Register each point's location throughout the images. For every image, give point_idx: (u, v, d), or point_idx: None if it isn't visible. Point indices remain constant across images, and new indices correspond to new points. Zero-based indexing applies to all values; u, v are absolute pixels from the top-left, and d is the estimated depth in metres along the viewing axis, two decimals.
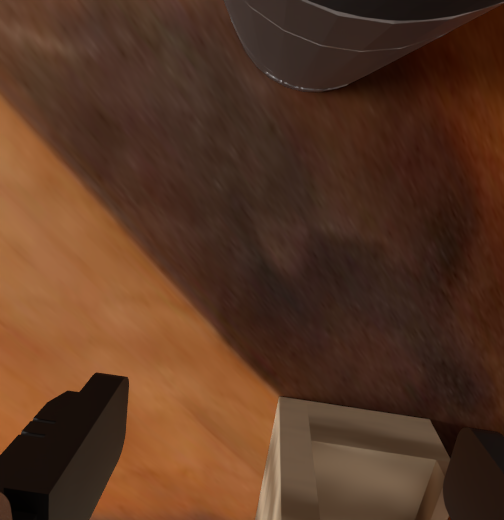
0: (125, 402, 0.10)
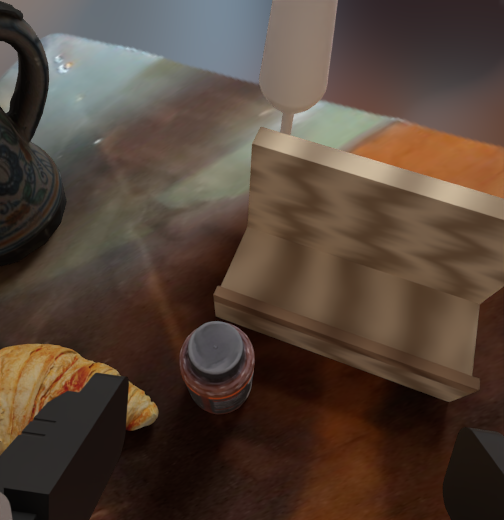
0: (125, 402, 0.10)
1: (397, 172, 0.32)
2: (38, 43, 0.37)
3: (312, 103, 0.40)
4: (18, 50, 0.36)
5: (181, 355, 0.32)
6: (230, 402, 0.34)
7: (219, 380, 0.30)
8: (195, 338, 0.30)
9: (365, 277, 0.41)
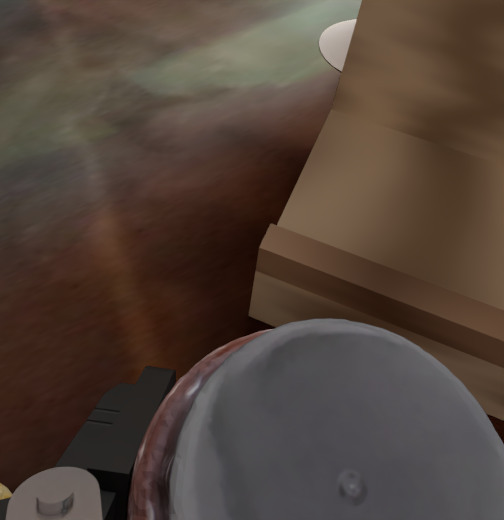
0: None
1: None
2: None
3: None
4: None
5: (138, 481, 0.07)
6: None
7: None
8: (219, 419, 0.05)
9: None
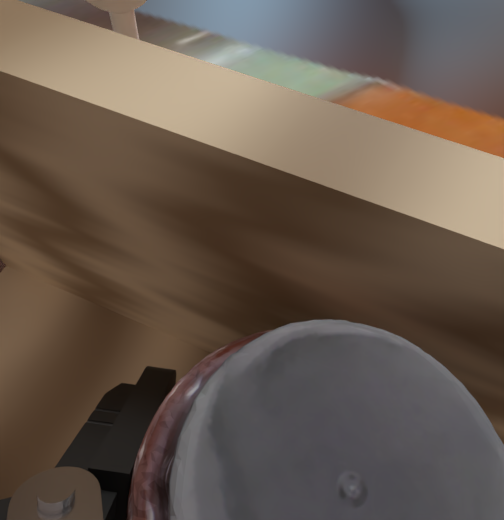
0: None
1: (292, 109, 0.08)
2: None
3: None
4: None
5: (138, 482, 0.06)
6: None
7: None
8: (219, 421, 0.05)
9: None
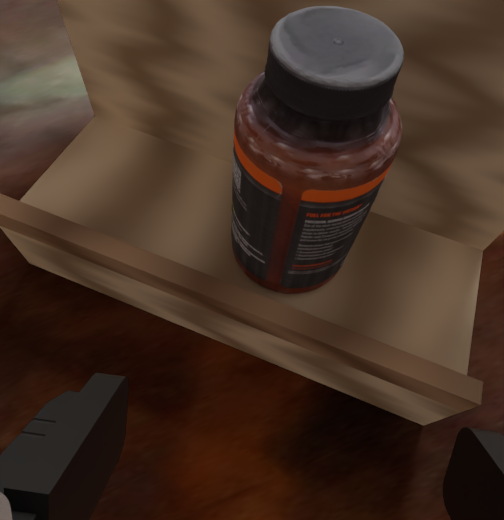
0: (125, 402, 0.10)
1: None
2: None
3: None
4: None
5: (241, 103, 0.14)
6: (334, 236, 0.16)
7: (340, 135, 0.12)
8: (287, 25, 0.12)
9: None
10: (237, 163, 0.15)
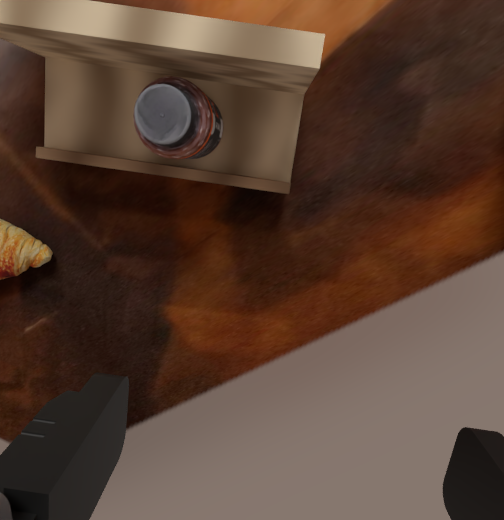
0: (125, 402, 0.10)
1: (125, 14, 0.26)
2: None
3: None
4: None
5: (135, 126, 0.31)
6: (202, 152, 0.34)
7: (179, 144, 0.30)
8: (139, 110, 0.28)
9: None
10: None
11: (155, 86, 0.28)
